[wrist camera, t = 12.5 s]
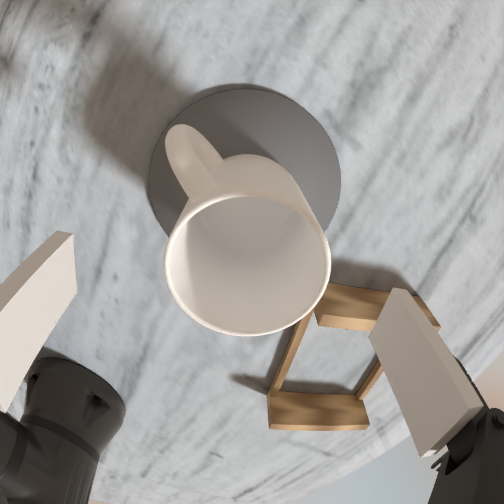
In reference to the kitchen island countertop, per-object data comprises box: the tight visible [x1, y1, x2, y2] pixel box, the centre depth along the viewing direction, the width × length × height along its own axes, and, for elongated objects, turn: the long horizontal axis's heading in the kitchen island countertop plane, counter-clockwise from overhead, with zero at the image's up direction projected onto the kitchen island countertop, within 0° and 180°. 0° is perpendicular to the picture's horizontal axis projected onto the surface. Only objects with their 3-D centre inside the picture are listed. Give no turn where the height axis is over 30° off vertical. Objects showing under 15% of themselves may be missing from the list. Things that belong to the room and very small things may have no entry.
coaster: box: [149, 89, 341, 237], centre depth 24 cm, size 15×15×1 cm
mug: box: [164, 124, 331, 336], centre depth 19 cm, size 12×8×10 cm
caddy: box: [267, 283, 441, 431], centre depth 31 cm, size 13×17×5 cm
